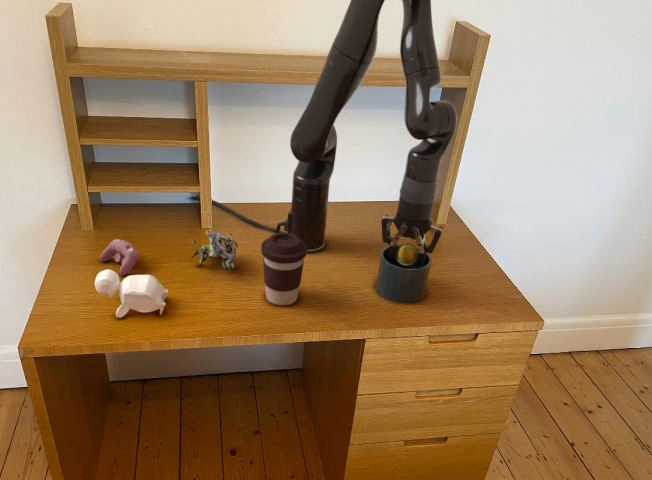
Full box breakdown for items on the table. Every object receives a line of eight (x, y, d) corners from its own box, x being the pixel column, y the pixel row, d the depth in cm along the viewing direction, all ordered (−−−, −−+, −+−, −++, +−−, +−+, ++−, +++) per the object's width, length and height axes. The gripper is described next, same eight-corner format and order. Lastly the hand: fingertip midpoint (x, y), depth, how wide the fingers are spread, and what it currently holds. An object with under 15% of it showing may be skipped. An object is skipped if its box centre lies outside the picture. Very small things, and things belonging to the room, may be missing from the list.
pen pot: (370, 295, 137) (375, 262, 132) (383, 271, 146) (388, 240, 141) (418, 308, 134) (425, 274, 129) (428, 283, 143) (435, 251, 138)
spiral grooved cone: (422, 265, 138) (420, 253, 128) (401, 272, 138) (396, 261, 129) (415, 244, 139) (412, 231, 130) (394, 252, 140) (389, 239, 131)
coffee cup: (287, 315, 128) (291, 256, 120) (251, 299, 132) (252, 241, 124) (311, 294, 135) (316, 237, 127) (275, 280, 139) (278, 224, 131)
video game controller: (135, 277, 139) (144, 250, 138) (120, 276, 136) (129, 248, 134) (113, 261, 145) (121, 235, 143) (97, 260, 141) (105, 233, 140)
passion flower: (230, 286, 146) (240, 267, 135) (186, 280, 143) (193, 261, 132) (232, 245, 150) (242, 224, 140) (190, 239, 147) (196, 217, 137)
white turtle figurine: (160, 306, 133) (94, 285, 128) (172, 277, 129) (104, 255, 124) (156, 329, 126) (85, 308, 121) (168, 299, 122) (95, 276, 117)
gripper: (453, 195, 128) (438, 262, 137) (389, 182, 131) (379, 248, 141) (447, 209, 122) (432, 277, 131) (380, 194, 126) (370, 262, 135)
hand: (405, 262), depth 136 cm, fingers closed on spiral grooved cone, 5 cm apart
